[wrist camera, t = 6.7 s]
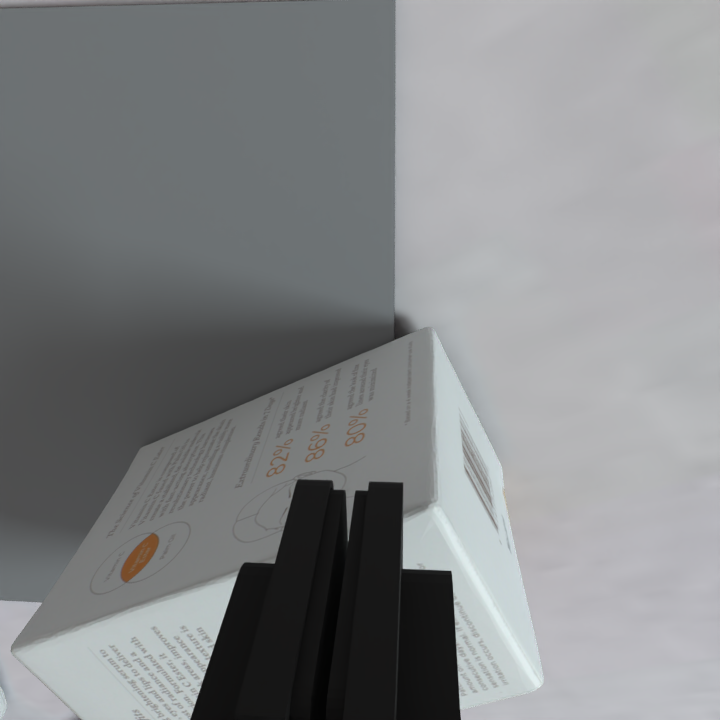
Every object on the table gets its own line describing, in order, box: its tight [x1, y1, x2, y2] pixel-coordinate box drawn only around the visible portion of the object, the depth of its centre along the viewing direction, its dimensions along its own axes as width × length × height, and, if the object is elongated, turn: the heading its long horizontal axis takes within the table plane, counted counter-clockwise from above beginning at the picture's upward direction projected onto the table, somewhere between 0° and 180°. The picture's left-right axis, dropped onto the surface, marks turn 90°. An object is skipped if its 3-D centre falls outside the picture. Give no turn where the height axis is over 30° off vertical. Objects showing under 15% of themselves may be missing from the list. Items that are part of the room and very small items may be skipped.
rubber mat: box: [0, 0, 395, 602], centre depth 21 cm, size 20×16×1 cm
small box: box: [11, 327, 544, 720], centre depth 18 cm, size 8×6×10 cm
